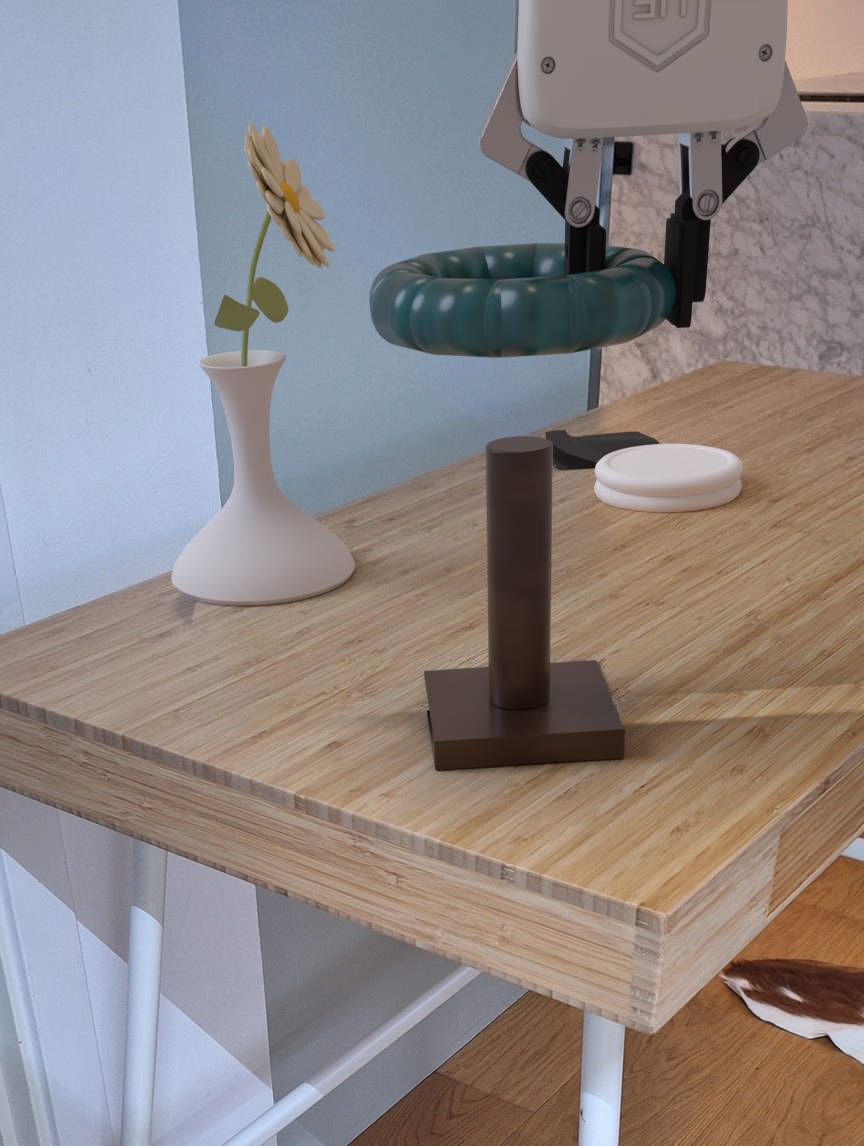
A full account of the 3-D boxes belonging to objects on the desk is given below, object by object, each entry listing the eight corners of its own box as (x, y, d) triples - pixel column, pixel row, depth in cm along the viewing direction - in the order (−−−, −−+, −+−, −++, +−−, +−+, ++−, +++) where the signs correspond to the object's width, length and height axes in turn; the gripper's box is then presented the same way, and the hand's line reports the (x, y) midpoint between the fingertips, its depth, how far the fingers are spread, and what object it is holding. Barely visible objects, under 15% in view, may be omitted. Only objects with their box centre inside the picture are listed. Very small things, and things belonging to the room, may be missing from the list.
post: (595, 687, 77) (604, 414, 69) (623, 758, 70) (637, 462, 62) (424, 697, 77) (413, 427, 69) (435, 770, 70) (424, 476, 62)
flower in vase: (286, 640, 85) (239, 137, 71) (137, 613, 91) (65, 140, 76) (405, 574, 94) (385, 114, 80) (262, 552, 99) (219, 118, 85)
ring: (642, 300, 69) (645, 232, 67) (697, 352, 58) (702, 273, 56) (369, 316, 69) (365, 249, 67) (374, 371, 58) (370, 293, 57)
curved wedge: (584, 497, 106) (584, 474, 105) (540, 453, 117) (540, 431, 116) (695, 486, 107) (697, 463, 106) (641, 443, 118) (642, 421, 117)
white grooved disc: (564, 519, 102) (565, 466, 100) (644, 485, 108) (647, 435, 106) (689, 542, 96) (693, 487, 94) (766, 505, 102) (771, 452, 100)
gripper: (436, -236, 50) (448, 352, 60) (919, -265, 50) (847, 330, 60) (424, -209, 56) (437, 321, 66) (855, -234, 56) (799, 300, 66)
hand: (632, 320), depth 63 cm, fingers closed on ring, 3 cm apart
